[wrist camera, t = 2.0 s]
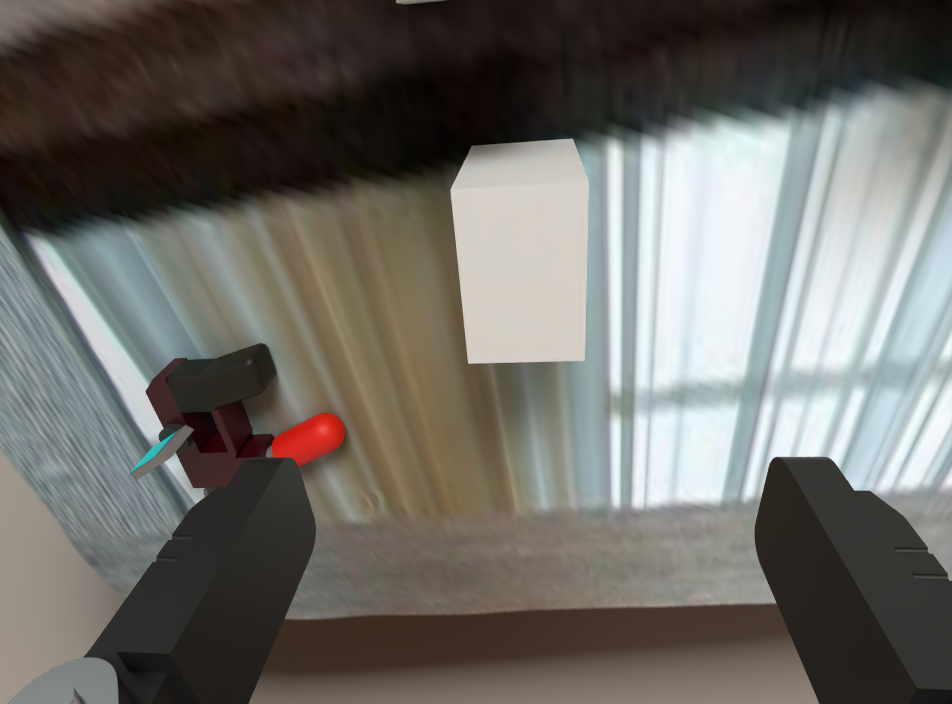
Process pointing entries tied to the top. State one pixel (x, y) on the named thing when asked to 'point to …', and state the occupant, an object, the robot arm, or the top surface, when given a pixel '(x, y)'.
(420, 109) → the top surface
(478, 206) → the block
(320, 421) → the toy gun
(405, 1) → the board
